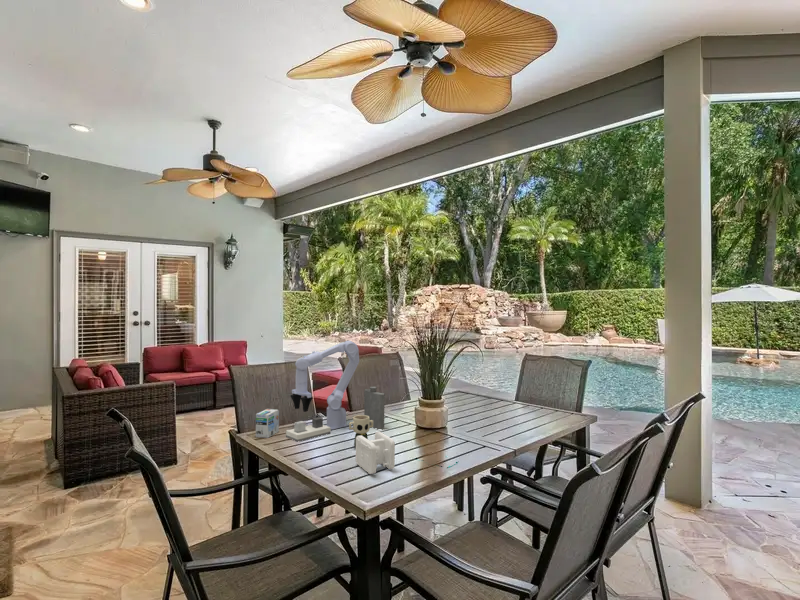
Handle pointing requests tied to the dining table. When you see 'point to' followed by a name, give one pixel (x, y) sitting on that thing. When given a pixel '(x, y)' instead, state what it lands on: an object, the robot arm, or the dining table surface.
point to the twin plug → (317, 422)
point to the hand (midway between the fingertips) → (301, 410)
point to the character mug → (360, 426)
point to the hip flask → (374, 407)
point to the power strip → (308, 433)
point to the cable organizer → (375, 452)
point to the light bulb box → (267, 423)
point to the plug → (300, 427)
